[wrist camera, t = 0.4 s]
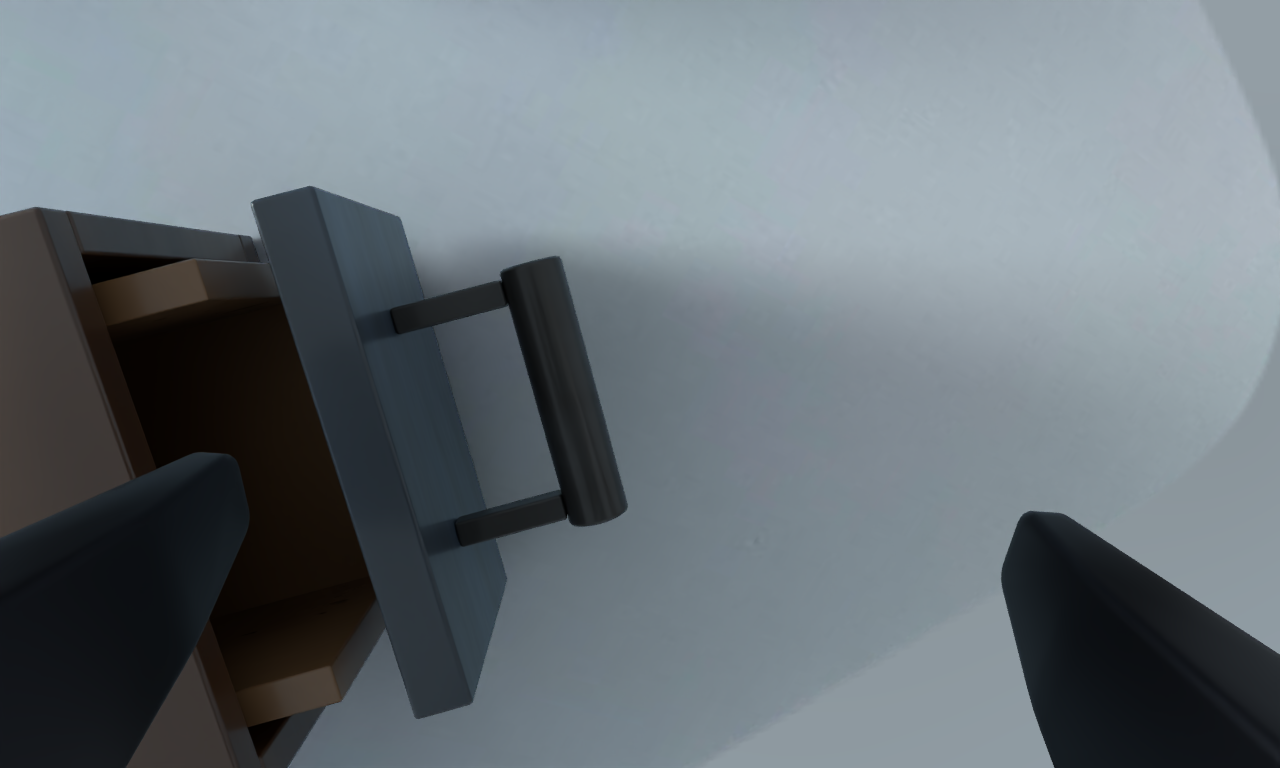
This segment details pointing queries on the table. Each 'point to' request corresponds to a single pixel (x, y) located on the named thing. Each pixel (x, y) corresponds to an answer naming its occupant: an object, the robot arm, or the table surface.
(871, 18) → the table surface
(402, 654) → the drawer
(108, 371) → the cabinet
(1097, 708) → the robot arm
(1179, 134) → the table surface
